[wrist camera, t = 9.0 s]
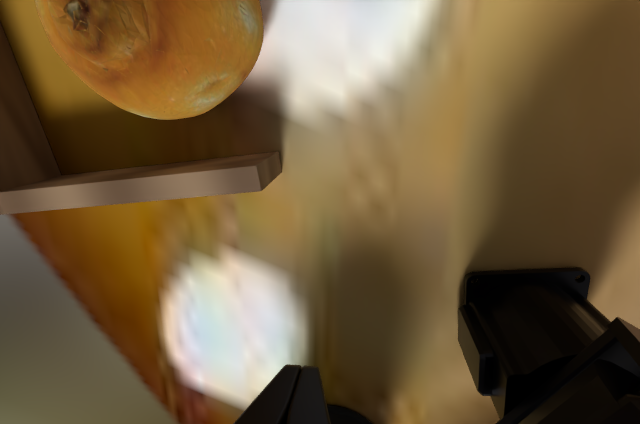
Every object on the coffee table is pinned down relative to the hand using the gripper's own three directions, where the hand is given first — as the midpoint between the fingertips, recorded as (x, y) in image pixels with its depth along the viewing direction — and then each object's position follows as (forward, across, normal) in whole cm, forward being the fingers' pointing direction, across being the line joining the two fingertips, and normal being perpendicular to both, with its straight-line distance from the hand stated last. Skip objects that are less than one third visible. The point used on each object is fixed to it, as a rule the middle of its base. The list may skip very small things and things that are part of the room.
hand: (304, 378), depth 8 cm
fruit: (+12, +7, -10) cm, 17 cm away
